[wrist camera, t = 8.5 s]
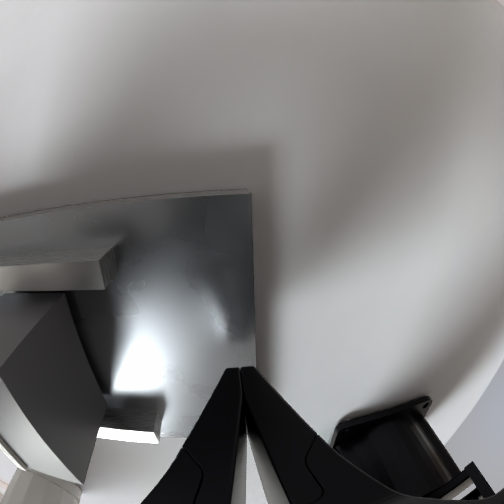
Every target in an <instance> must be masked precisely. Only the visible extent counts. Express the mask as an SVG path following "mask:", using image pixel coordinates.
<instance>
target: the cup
mask: <svg viewBox="0 0 504 504" xmlns="http://www.w3.org/2000/svg"><path fill="white" fill-rule="evenodd" d="M81 494H82V491H81V489H80V488H79V487H78V486H77V485H76V484H75V483H73V482H70V481H66V480H63V479H60V478H56V477H53V476H50V475H47V474H44V473H42V472H39V471H36V470H33V469H31V468H27V470H26V471H24V470H22V469H20V468H18V467H17V470H16V472H15V474H14V476H13V478H12V480H11V482H10V484H9V486H8V488H7V490H6V492H5V494H4V496H3V498H2V500H1V503H0V504H79V503H80V498H81Z"/></svg>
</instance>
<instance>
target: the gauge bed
mask: <svg viewBox="0 0 504 504" xmlns="http://www.w3.org/2000/svg"><path fill="white" fill-rule="evenodd" d="M4 293H65V295H66V299H67V302H68V306H69V309H70V312H71V315H72V318H73V322H74V325H75V327H76V330H77V333H78V336H79V339H80V342H81V344H82V347H83V350H84V352H85V355H86V357H87V360H88V362H89V365H90V367H91V369H92V372H93V374H94V376H95V379H96V381H97V383H98V385H99V388H100V390H101V392H102V394H103V396H104V398H105V400H106V402H107V404H108V405H107V408H106V411H105V414H104V417H103V420H102V423H101V426H100V429H99V432H98V435H97V437H100V438H106V439H114V440H122V441H132V442H144V443H159V439H160V437H188V436H189V434H190V432H191V430H192V429H193V427H194V425H195V423H196V421H197V420H198V418H199V416H200V414H201V412H202V411H203V409H204V407H205V405H206V403H207V402H208V400H209V398H210V396H211V394H212V393H213V391H214V389H215V387H216V385H217V383H218V382H219V380H220V378H221V376H222V374H223V372H224V370H225V369H226V368H233V367H238V368H241V367H245V366H254V367H255V368H256V340H255V304H254V270H253V235H252V201H251V193H250V192H249V191H248V190H247V189H236V190H218V191H202V192H188V193H175V194H164V195H153V196H143V197H133V198H124V199H116V200H108V201H100V202H92V203H85V204H78V205H71V206H64V207H58V208H52V209H46V210H40V211H34V212H29V213H23V214H18V215H13V216H8V217H3V218H0V297H1V296H2V295H3V294H4ZM246 430H247V427H246ZM247 435H248V434H247Z"/></svg>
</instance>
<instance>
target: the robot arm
mask: <svg viewBox="0 0 504 504" xmlns="http://www.w3.org/2000/svg"><path fill="white" fill-rule="evenodd" d="M431 404H432V400H431V398H430V397H429V396H425V397H422V398H419V399H417V400H414V401H411V402H409V403H406V404H403V405H400V406H397V407H394V408H391V409H388V410H385V411H382V412H379V413H375V414H372V415H368V416H365V417H361V418H358V419H354V420H350V421H346V422H343V423H341V424H339V425H338V426H337V427H336V428H335V430H334V434H333V437H332V440H331V443H330V445H329V444H327V443H326V442H325V441H324V440H323V439H322V438H321V437H320V436H319V435H317V433H316V432H315V431H314V430H313V429H312V428H311V427H310V426H309V425H308V424H307V423H306V422H305V421H304V420H303V419H302V418H301V417H300V415H299V414H298V413H297V412H296V411H295V410H294V409H293V408H292V407H291V406H290V405H289V404H288V403H287V402H286V401H285V400H284V399H283V397H282V396H281V395H280V394H279V393H278V392H277V391H276V390H275V389H274V388H273V387H272V385H271V384H270V383H269V382H268V381H267V380H266V379H265V378H264V377H263V375H262V374H261V373H260V372H259V371H258V370H257V369H256V368H255V367H254V366H245V367H241V368H238V367H233V368H226V369H225V370H224V372H223V374H222V376H221V378H220V380H219V382H218V383H217V385H216V387H215V389H214V391H213V393H212V394H211V396H210V398H209V400H208V402H207V403H206V405H205V407H204V409H203V411H202V412H201V414H200V416H199V418H198V420H197V421H196V423H195V425H194V427H193V429H192V430H191V432H190V434H189V436H188V437H187V439H186V441H185V443H184V444H183V446H182V447H183V448H181V449H180V451H179V453H178V455H177V456H176V458H175V460H174V461H173V463H172V464H171V466H170V467H169V469H168V470H167V472H166V473H165V475H164V476H163V477H162V479H161V480H160V481H159V482H158V484H157V485H156V486H155V487H154V489H153V490H152V491H151V492H150V493H149V494H148V496H147V497H146V498H145V499H144V500H143V501H142V503H141V504H246V462H247V434H248V438H249V442H250V445H251V449H252V452H253V456H254V459H255V463H256V466H257V469H258V473H259V476H260V479H261V483H262V486H263V489H264V492H265V495H266V498H267V502H268V504H504V488H503V489H502V490H501V491H499V492H498V493H497V494H495V493H494V491H493V490H492V488H491V487H490V485H489V484H488V482H487V481H486V480H485V478H484V477H483V475H482V474H481V472H480V471H479V470H478V468H477V467H476V465H475V464H474V462H473V461H472V462H471V463H470V464H468V465H467V466H466V467H465V468H464V470H463V471H462V472H461V471H460V470H459V468H458V467H457V465H456V463H455V462H454V460H453V459H452V457H451V456H450V454H449V453H448V451H447V450H446V449H445V447H444V445H443V444H442V442H441V441H440V439H439V438H438V437H437V435H436V434H435V432H434V431H433V429H432V428H431V426H430V425H429V423H428V422H427V421H426V419H425V418H424V417H425V415H426V413H427V411H428V409H429V407H430V405H431ZM246 427H247V430H246ZM473 483H474V484H475V485H476V488H475V489H474V490H473V491H471V492H470V493H469V494H467V495H466V496H465V497H463V498H462V499H461V500H451V499H452V498H453V497H455V496H457V495H458V494H459V493H461V492H462V491H464V490H465V489H466V488H467V487H469V486H470V485H471V484H473Z"/></svg>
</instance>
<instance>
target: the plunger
mask: <svg viewBox="0 0 504 504" xmlns="http://www.w3.org/2000/svg"><path fill="white" fill-rule="evenodd" d="M107 405H108V404H107V402H106V400H105V398H104V396H103V394H102V392H101V390H100V388H99V385H98V383H97V381H96V379H95V376H94V374H93V372H92V369H91V367H90V365H89V362H88V360H87V357H86V355H85V352H84V350H83V347H82V344H81V342H80V339H79V336H78V333H77V330H76V327H75V325H74V322H73V318H72V315H71V312H70V309H69V306H68V302H67V299H66V295H65V293H4V294H3V295H2V296H1V297H0V449H1V450H2V451H3V452H4V453H5V454H6V455H7V457H8V458H9V459H10V460H11V461H12V462H13V463H14V464H15V465H16V466H17V467H18V468H20V469H22V470H24V471H26V470H27V468H31V469H33V470H36V471H39V472H42V473H44V474H47V475H50V476H53V477H56V478H60V479H63V480H66V481H70V482H74V483H77V484H81V485H84V481H85V477H86V473H87V470H88V466H89V462H90V459H91V455H92V452H93V449H94V445H95V442H96V439H97V435H98V432H99V429H100V426H101V423H102V420H103V417H104V414H105V411H106V408H107Z"/></svg>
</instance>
